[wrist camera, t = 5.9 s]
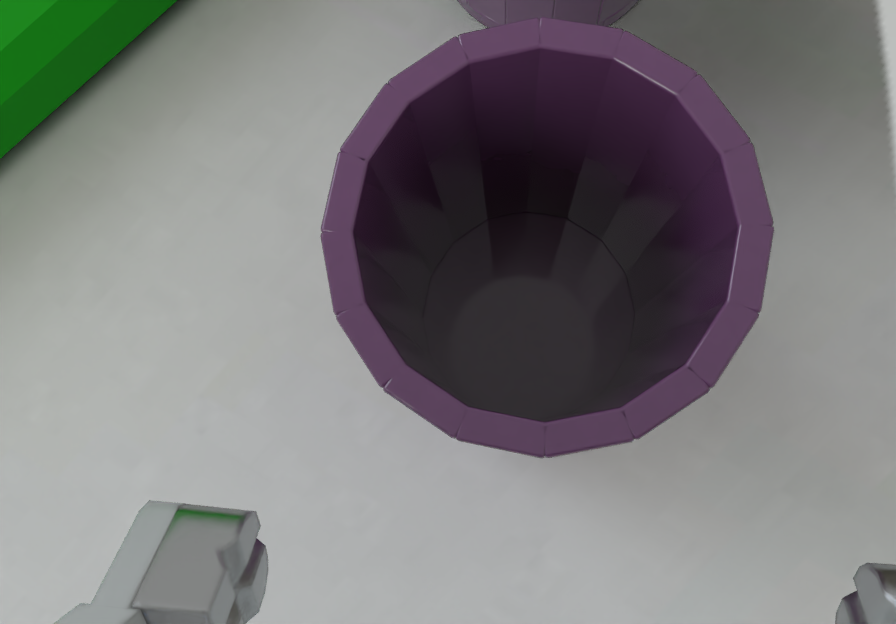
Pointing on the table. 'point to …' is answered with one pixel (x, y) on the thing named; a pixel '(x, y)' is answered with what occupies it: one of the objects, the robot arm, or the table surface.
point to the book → (59, 53)
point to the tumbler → (547, 10)
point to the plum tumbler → (547, 237)
